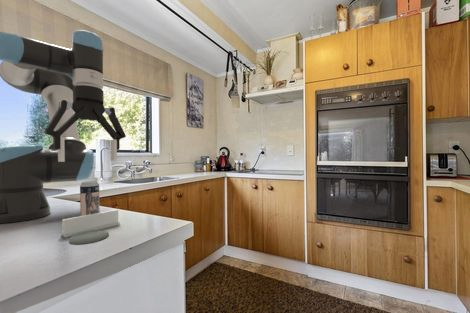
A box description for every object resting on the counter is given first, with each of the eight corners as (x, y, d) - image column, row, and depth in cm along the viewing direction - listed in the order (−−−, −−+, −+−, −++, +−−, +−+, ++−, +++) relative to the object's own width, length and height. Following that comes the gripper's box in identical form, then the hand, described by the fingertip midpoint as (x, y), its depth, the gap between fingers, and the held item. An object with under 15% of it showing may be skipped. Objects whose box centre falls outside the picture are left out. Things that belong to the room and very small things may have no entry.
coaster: (63, 239, 55) (63, 237, 55) (100, 230, 61) (100, 228, 61) (76, 247, 50) (75, 245, 50) (114, 236, 56) (114, 234, 56)
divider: (61, 235, 58) (60, 218, 58) (114, 222, 68) (114, 209, 68) (65, 237, 56) (64, 220, 56) (119, 224, 66) (119, 210, 66)
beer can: (90, 226, 65) (90, 183, 65) (76, 225, 66) (75, 182, 66) (103, 221, 69) (103, 181, 69) (90, 220, 70) (89, 181, 70)
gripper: (36, 73, 55) (37, 162, 55) (136, 94, 75) (137, 160, 75) (28, 80, 60) (30, 162, 60) (124, 98, 80) (125, 160, 80)
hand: (89, 161), depth 67 cm, fingers open, 13 cm apart
